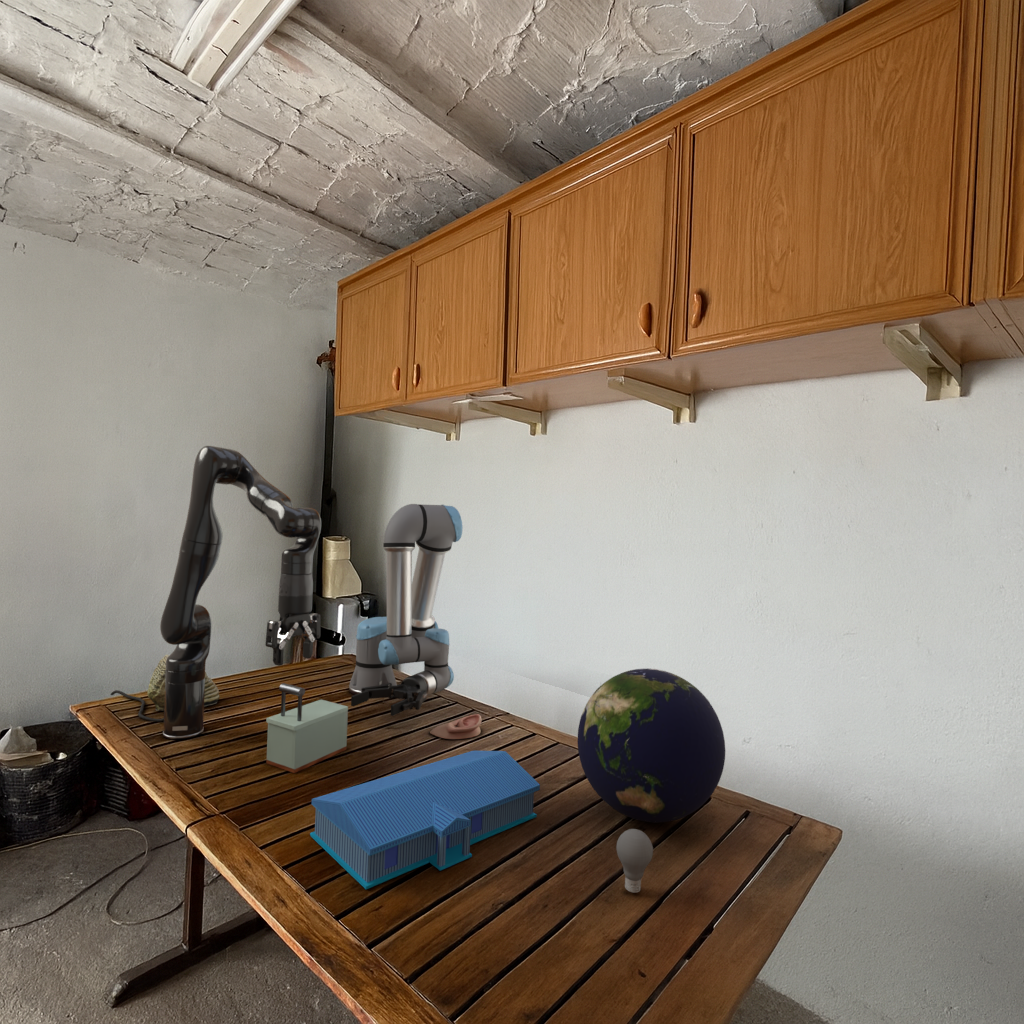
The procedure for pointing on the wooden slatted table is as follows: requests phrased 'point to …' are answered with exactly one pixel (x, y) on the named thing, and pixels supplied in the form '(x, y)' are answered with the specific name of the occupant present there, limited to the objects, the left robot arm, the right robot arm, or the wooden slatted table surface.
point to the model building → (423, 815)
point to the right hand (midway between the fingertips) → (371, 705)
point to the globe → (651, 745)
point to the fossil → (158, 687)
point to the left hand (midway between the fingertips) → (293, 661)
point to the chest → (306, 743)
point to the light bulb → (634, 857)
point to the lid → (303, 710)
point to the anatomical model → (459, 728)
